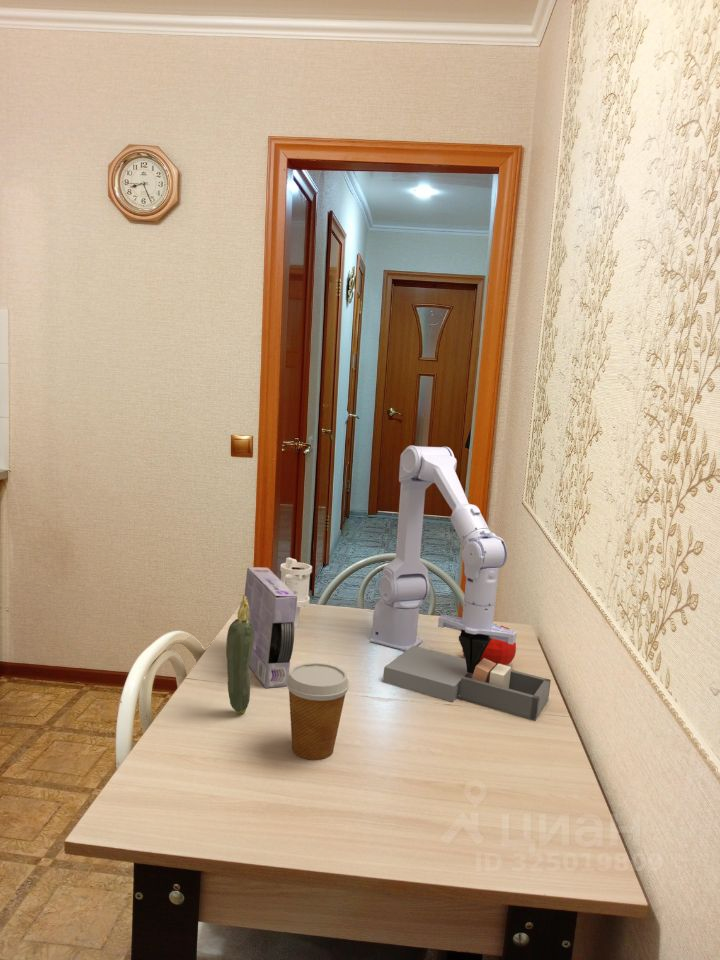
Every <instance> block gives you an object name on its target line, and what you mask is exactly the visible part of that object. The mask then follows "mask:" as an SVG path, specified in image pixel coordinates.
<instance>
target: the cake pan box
mask: <svg viewBox="0 0 720 960" xmlns="http://www.w3.org/2000/svg"><path fill="white" fill-rule="evenodd" d="M245 576H246V578H245V586H244V594H243V595H244V596H246V597H247V600H248V605H249V611H250V617H249V619H247V620H248V621H249V622H250V623H251V624H252V626H253V629H254V642H253V647H252V652H251V657H250V663H249V669H250V670H251V671H252V672H253V674H255V676H256V677H257V678H258V680H259V681H260V683H261V684H262V685H263V687H264V688H265V689H273V688H274V689H275V688H285V687H288V686H287V684H286V679H287V677H288V676H289V674H290V667H291V666H290V665H291V659H292V655H293V652H294V651H293V650H294V643H295V628H294V622H295V616H296V606H297V596H296V595H295V594H294V593H293V592H292V591H291V590H290V589H289V588H288V587H287V586H286V585H285V584H284V583H283V582H282V581H281V578H280V577H278V576H277V575H276V574H275V573H274V572H273V571H272V570H271V569H270V568H269V567H260V566H258V567H255V566H254V567H252V566H251V567H250V566H249V567H247V569H246V575H245Z"/></svg>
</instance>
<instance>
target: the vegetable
mask: <svg viewBox="0 0 720 960" xmlns="http://www.w3.org/2000/svg"><path fill="white" fill-rule="evenodd" d="M244 595H245V594H242V600H241V601H240V604H239V608H238V609H237V610H238V611H237V619H235V620H233V621H232V622H231V624H230V625H229V627H228V630H227V635H226V644H225V646H226V647H225V652H226V653H225V654H226V666H227V691H228V692H227V693H228V698H229V704H230V706H231V707H232V709H234V711H235V713H237V714H241V713H246V711H247V709H248V706H249V703H250V699H251V698H250V696H251V683H250V682H251V681H250V667H249V663H250V657H251V652H252V647H253V642H254V629H253V626H252V624H251V623H250V622H249V621H248V620H247V619H249V617H250V611H249V605H248V600H247V597H246V596H244Z"/></svg>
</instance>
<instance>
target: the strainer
mask: <svg viewBox="0 0 720 960" xmlns="http://www.w3.org/2000/svg"><path fill="white" fill-rule="evenodd" d="M279 568H280V569H279V570H280V572H281V575H280V580H281V581H282V582H283V583H284V584H285V585H286V586H287V587H288V588H289V589H290V590H291V591H292V592H293V593H294V594H295V595H296V596H297V606H296V616H295V622H294V629H296V628H298V627H300V626H299V625H300V614H301V607H305V606H308V605H310V600H311V598H310V596H309V593H310V591H309V590H310V589H309V588H310V579H311V577H310V576H311V574H312V573H313V566H312V565H310V564H308V563H306V562H305V563H304V562H299V561H297V559H295V558H292V557H286V558H285V562H282V563H281V564H280V567H279ZM293 568H299V569H293ZM303 576H304V577H303Z"/></svg>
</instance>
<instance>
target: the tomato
mask: <svg viewBox="0 0 720 960" xmlns="http://www.w3.org/2000/svg"><path fill="white" fill-rule="evenodd" d="M494 624H495V625H497V623H494ZM499 626H500V627H503V628H506V629H509V630H510V628H509V627H506V626H503V625H499ZM461 650H462V654H463V657H464V658H465V655H464V652H463V649H461ZM516 653H517V643H516V642H515V643H514V644H513V645H512V644H508V643H507V642H505V641H501V640H497V639H491V641H490V642H489V644H488V646H487V647H486V649H485V651H484V653H483V655H482V657H481V659H480V661H481V660H482V659H483V658H485V659H487V660H490V661H492V662H494V663H496V665H497V664H502V665H506V666H509V665H510V664H511V663H512V661H514V659H515V657H516Z"/></svg>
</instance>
